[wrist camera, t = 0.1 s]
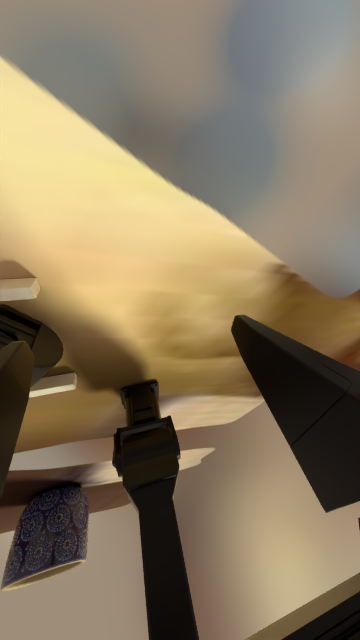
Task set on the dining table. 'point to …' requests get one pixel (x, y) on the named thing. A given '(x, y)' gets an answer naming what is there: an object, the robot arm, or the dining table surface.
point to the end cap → (31, 339)
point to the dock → (30, 290)
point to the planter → (48, 537)
